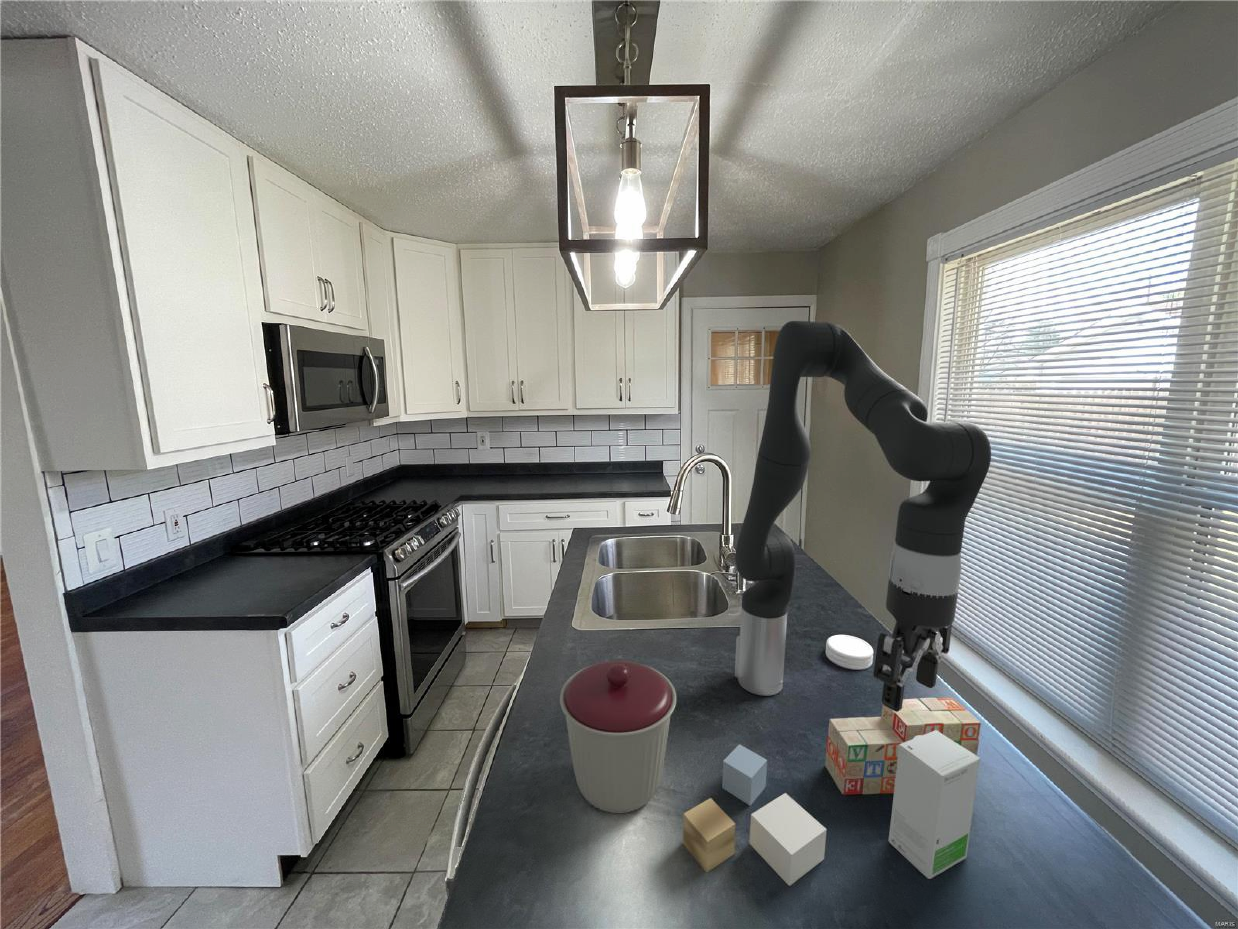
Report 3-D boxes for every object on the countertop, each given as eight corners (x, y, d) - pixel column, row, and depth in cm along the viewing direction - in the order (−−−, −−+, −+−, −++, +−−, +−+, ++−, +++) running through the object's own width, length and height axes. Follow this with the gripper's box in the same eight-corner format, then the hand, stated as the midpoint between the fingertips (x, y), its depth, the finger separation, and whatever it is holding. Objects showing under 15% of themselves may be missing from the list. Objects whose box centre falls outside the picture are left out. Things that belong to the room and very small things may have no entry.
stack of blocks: (842, 797, 79) (849, 727, 76) (824, 766, 85) (829, 701, 83) (972, 790, 80) (982, 721, 78) (944, 760, 86) (953, 696, 84)
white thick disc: (851, 644, 123) (852, 631, 122) (882, 667, 114) (883, 652, 113) (816, 650, 120) (817, 637, 120) (845, 674, 111) (846, 659, 110)
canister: (647, 733, 92) (648, 628, 89) (694, 813, 76) (698, 688, 72) (551, 760, 86) (547, 648, 82) (579, 852, 70) (577, 717, 66)
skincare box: (928, 882, 65) (942, 779, 63) (883, 839, 71) (894, 743, 69) (969, 857, 69) (984, 758, 66) (923, 819, 75) (935, 726, 72)
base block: (749, 844, 71) (751, 814, 70) (783, 821, 74) (785, 792, 74) (789, 887, 65) (791, 855, 64) (823, 860, 69) (826, 829, 68)
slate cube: (722, 788, 80) (723, 761, 80) (738, 770, 84) (739, 744, 83) (750, 806, 77) (751, 778, 76) (765, 787, 81) (767, 760, 80)
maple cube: (682, 843, 71) (683, 813, 70) (709, 827, 74) (710, 798, 73) (706, 873, 67) (707, 841, 66) (734, 854, 69) (735, 824, 68)
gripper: (920, 559, 70) (907, 664, 73) (862, 583, 62) (850, 699, 65) (982, 577, 64) (965, 692, 67) (925, 606, 56) (909, 734, 59)
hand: (908, 695), depth 66 cm, fingers open, 8 cm apart
